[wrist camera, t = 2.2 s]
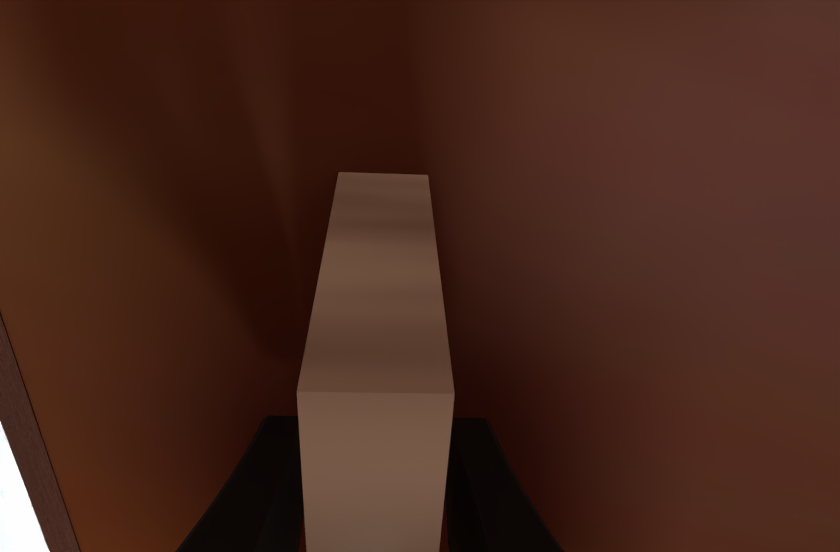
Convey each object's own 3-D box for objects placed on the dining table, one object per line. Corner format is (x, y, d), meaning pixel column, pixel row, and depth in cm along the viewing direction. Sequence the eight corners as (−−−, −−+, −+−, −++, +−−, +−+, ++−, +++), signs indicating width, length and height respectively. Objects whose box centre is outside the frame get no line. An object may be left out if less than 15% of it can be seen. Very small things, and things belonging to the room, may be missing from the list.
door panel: (406, 534, 17) (412, 818, 12) (344, 534, 17) (323, 820, 12) (427, 172, 12) (454, 393, 7) (338, 169, 12) (296, 392, 7)
